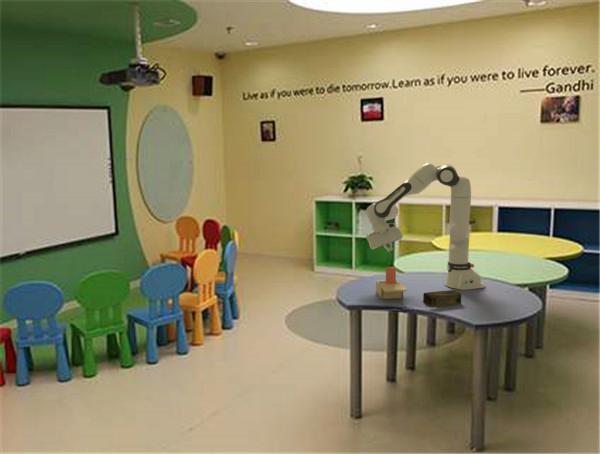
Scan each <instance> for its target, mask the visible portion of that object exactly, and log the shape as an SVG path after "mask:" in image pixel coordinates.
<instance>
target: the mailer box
mask: <svg viewBox="0 0 600 454" xmlns="http://www.w3.org/2000/svg"><path fill="white" fill-rule="evenodd" d="M396 282H399V281H398V280H397V279H396ZM375 283H376V287H375V288H376V289H375V292H376V293H377V294H378V296H379V298H380V299H381V300H385V299H386V300H388V299H389V300H390V299H391V300H392V299H403V298H404V291H392V292H384V290H383V289H382V288H381V286H380V285H379V283H386V280H376V282H375Z"/></svg>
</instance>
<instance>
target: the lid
mask: <svg viewBox="0 0 600 454" xmlns="http://www.w3.org/2000/svg"><path fill="white" fill-rule="evenodd" d="M396 277H397V268H396V266H388V267H387V266H386V267H385V281H386V283H379V285H380V286H381V288H382V289H383V290H384V292H392V291H403V292H408V289H407V287H405V286H404V284H403V283H402V282H400V281H398V282H396V280H397V278H396Z"/></svg>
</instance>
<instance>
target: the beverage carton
mask: <svg viewBox="0 0 600 454" xmlns="http://www.w3.org/2000/svg"><path fill="white" fill-rule="evenodd" d="M422 295H423V297H422V298H423V299H422V302H423V303H424V304H425V305H427V306H428V308H432V307H434V308H438V307H447V306H455V305H461V304H462V293H461V292H459V291H457V290H455V289H451V290H438V291H429V292H428V291H427V292H423V294H422Z"/></svg>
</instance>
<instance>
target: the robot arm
mask: <svg viewBox="0 0 600 454" xmlns="http://www.w3.org/2000/svg"><path fill="white" fill-rule="evenodd" d="M436 181H438V182H439V183H440V184H442V185H444V186H446V187H450V206H449V207H450V208H449V210H450V211H449V219H448V220H449V221H448V222H449V223H448V235H449V243H448V244H449V245H448V261H447V268H446V269H447V270H446V271H447V275H446V280H445V283H444V285H445V286H446V287H448V288H451V289H458V290H460V291H465V290H474V289H475V290H476V289H483V288H486V284H485V283H484V282H482V278H481V276H480V274H479V273H478V272H477V271H475V270H474V269H473V268H474V267H475V264H474V263H471V262H469V252H470V251H469V250H470V249H469V248H470V229H471V228H470V227H471V225H470V221H471V220H470V218H471V200H472V186H471V181H470V179H469V178H468V177H466V176H459V174H458V172H457V169H456V168H455V166H453V165H452V164H443V165H442V164H441V165H439V166H435V165H434V164H432V163H430V162H427V163H425V164H423V165H422V166H421V167H419V168H418V169H417V170H416V171H415V172H414V173H412V174H411V175H410V176H409V177H408V178H407V179H406V180H405V181H404V182H403V183H402V184H400V185H399V186H398V187H397V188H395V189H394V190H392V192H390V194H388V195H387V196H386V197H384V198H383V199H380V200H378V201H376V202H375V203H372V204H370V205H369V206H368V207H367V208H366V214H367V218H368V222H369V223H370V224H371V227H372V230H373V232H371V233H368V234H367V235H366V237H365V238H366V241H367V242H368V244H369V248H370V249H371V250H375V249H377V248H378V249H379V248H380V247H383V248H384V249H385V250H386V251H387V252H388V253H389V252H391V251H393V250H394V249H393V243H395V242H397V241H401V240H402V239H403V238H404V236H403V233H402V231H401V230H400V228H399V227H398V226H397V224H396V223H395V222H393V223H390V222H389V223H387V221H390V220H393V219H395V218H396V217H397V216H398V214H399V209H398V206H397V205H396V204H398V202H399V201H400V200H401V201H402V199H403V198H404V197H407V196H411V195H418V194H421V193H422V192H423V191H425V189H427V188H428V186H430V184H432V183H433V182H436ZM387 245H389V247H388V246H387Z"/></svg>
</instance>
